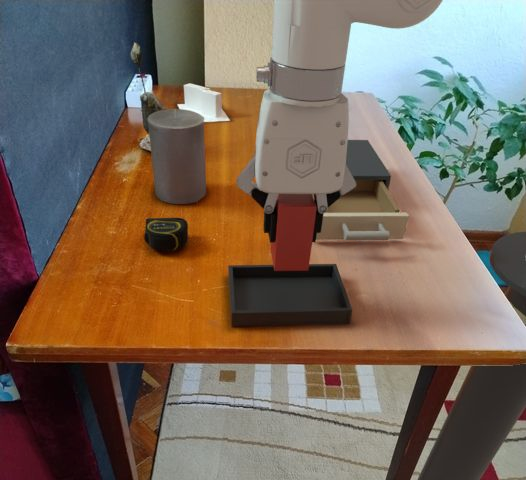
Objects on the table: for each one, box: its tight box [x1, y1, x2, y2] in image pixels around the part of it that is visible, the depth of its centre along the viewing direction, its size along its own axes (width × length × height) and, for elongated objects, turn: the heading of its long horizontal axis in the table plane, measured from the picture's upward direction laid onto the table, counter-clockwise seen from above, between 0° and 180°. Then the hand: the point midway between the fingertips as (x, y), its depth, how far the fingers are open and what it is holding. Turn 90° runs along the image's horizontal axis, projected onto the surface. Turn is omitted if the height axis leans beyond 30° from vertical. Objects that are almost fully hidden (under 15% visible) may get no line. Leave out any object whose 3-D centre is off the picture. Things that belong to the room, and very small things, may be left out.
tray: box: [227, 263, 354, 328], centre depth 69 cm, size 16×11×2 cm
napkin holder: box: [177, 82, 231, 123], centre depth 126 cm, size 15×11×6 cm
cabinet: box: [346, 139, 392, 190], centre depth 96 cm, size 18×17×6 cm
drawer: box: [312, 180, 410, 241], centre depth 85 cm, size 21×15×4 cm
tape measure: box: [143, 217, 189, 252], centre depth 78 cm, size 7×7×4 cm
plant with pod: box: [130, 42, 167, 152], centre depth 102 cm, size 8×11×20 cm
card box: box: [270, 194, 317, 271], centre depth 62 cm, size 4×5×9 cm
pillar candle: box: [148, 108, 207, 205], centre depth 88 cm, size 10×10×15 cm
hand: (291, 235), depth 63 cm, fingers closed on card box, 4 cm apart
